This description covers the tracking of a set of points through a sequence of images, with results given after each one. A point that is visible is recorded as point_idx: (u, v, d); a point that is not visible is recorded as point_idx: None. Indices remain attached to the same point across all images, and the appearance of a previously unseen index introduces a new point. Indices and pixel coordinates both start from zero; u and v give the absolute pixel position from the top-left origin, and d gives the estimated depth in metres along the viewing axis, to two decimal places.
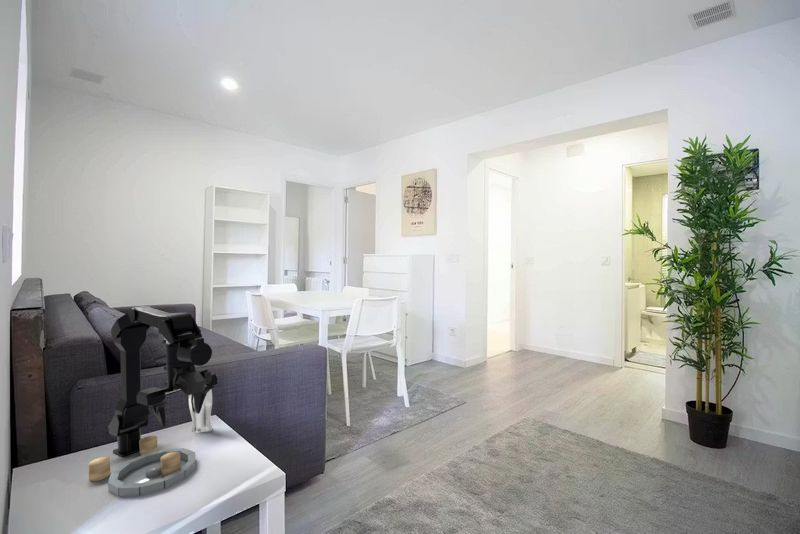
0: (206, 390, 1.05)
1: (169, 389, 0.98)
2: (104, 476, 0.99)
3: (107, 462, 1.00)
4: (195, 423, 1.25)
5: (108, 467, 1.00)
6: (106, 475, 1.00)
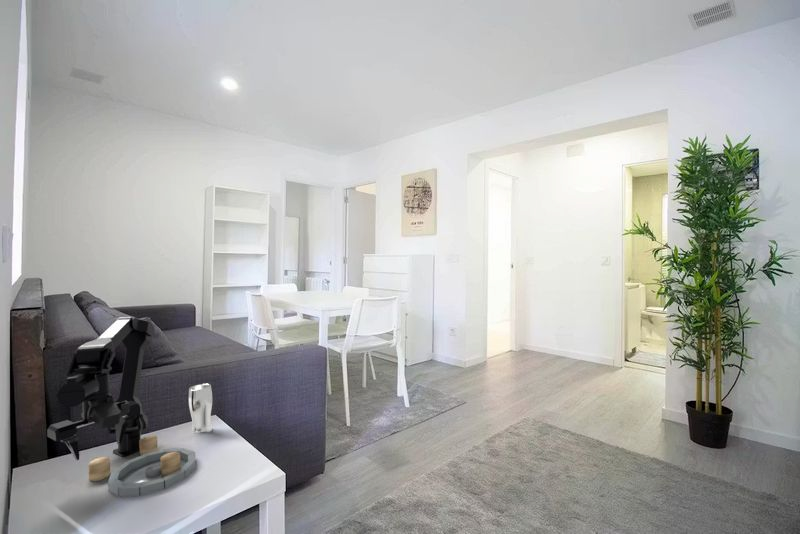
0: (127, 421, 1.04)
1: (84, 422, 0.97)
2: (104, 476, 0.99)
3: (107, 462, 1.00)
4: (195, 423, 1.25)
5: (108, 467, 1.00)
6: (106, 475, 1.00)
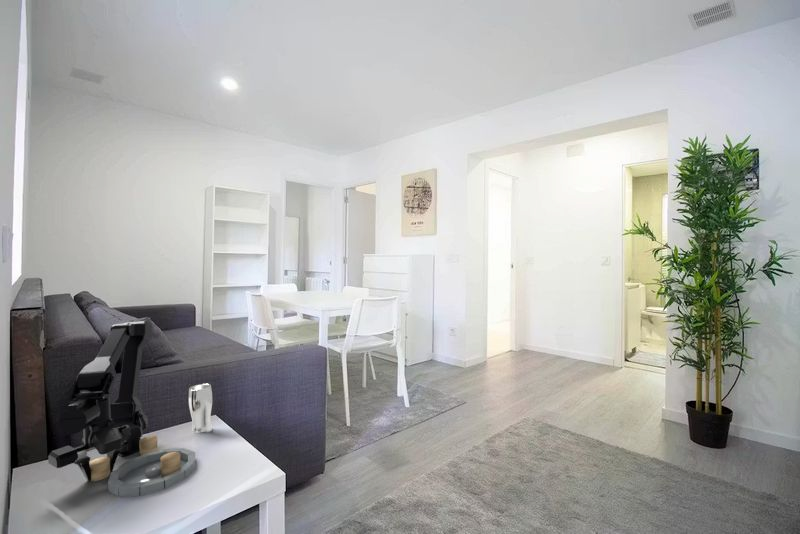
0: (118, 448, 1.02)
1: (85, 447, 0.97)
2: (104, 476, 0.99)
3: (107, 462, 1.00)
4: (195, 423, 1.25)
5: (108, 467, 1.00)
6: (106, 475, 1.00)
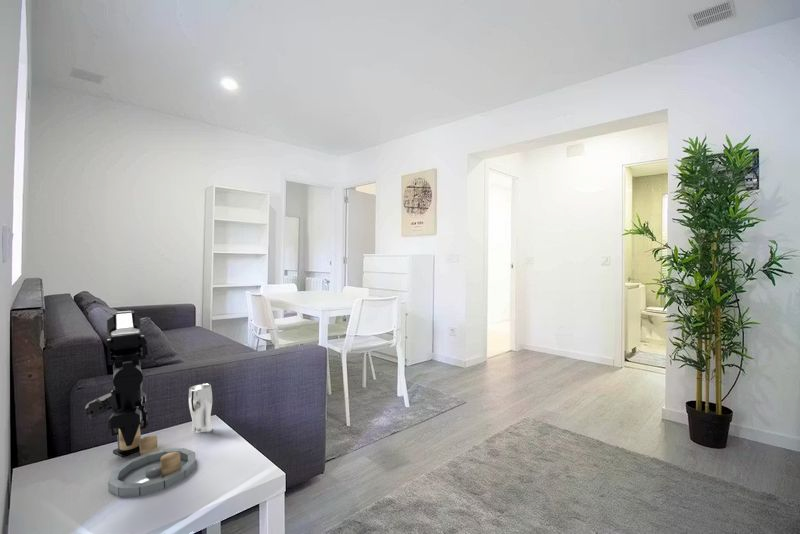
0: None
1: None
2: (119, 442, 0.97)
3: (119, 431, 0.96)
4: (195, 423, 1.25)
5: (120, 437, 0.96)
6: (119, 443, 0.96)
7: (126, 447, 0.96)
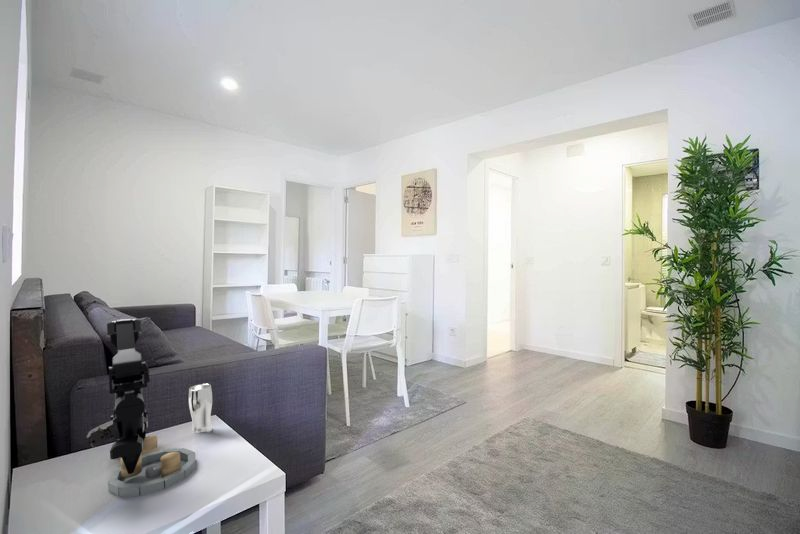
0: None
1: None
2: None
3: (121, 459, 0.96)
4: (195, 423, 1.25)
5: (122, 465, 0.96)
6: (121, 470, 0.97)
7: (128, 475, 0.96)
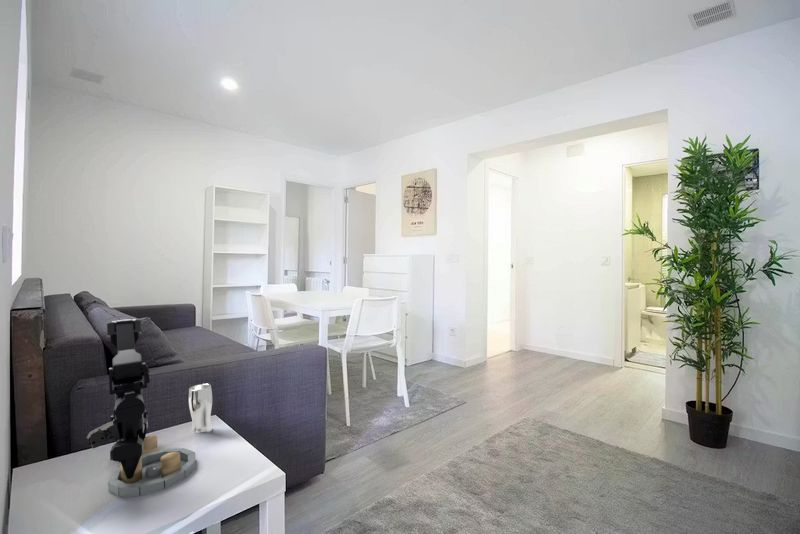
0: None
1: None
2: (121, 476, 0.97)
3: (121, 465, 0.96)
4: (195, 423, 1.25)
5: (122, 471, 0.96)
6: (121, 477, 0.97)
7: (128, 481, 0.96)
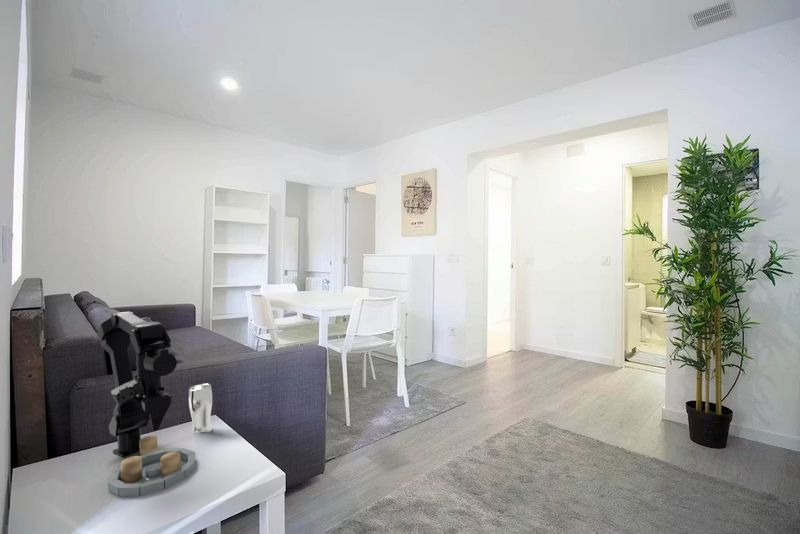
0: (144, 410, 1.00)
1: None
2: (121, 476, 0.97)
3: (121, 465, 0.96)
4: (195, 423, 1.25)
5: (122, 471, 0.96)
6: (121, 477, 0.97)
7: (128, 481, 0.96)
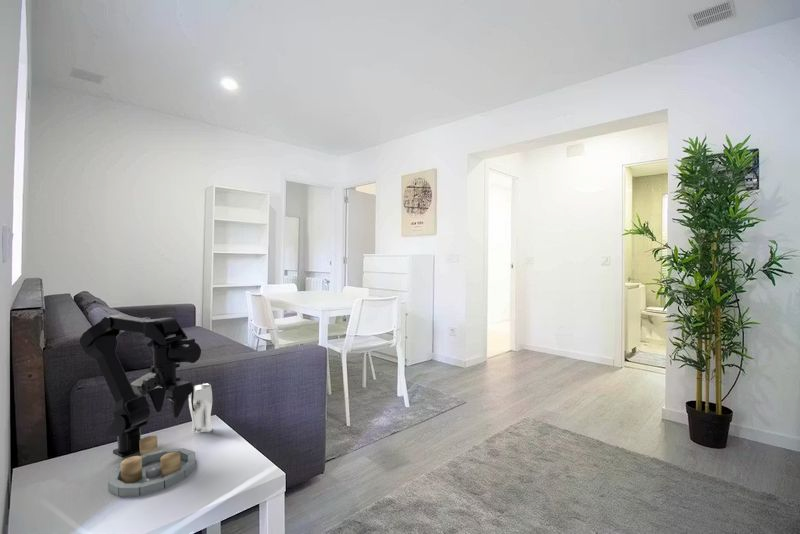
0: (168, 398, 1.07)
1: None
2: (121, 476, 0.97)
3: (121, 465, 0.96)
4: (195, 423, 1.25)
5: (122, 471, 0.96)
6: (121, 477, 0.97)
7: (128, 481, 0.96)
